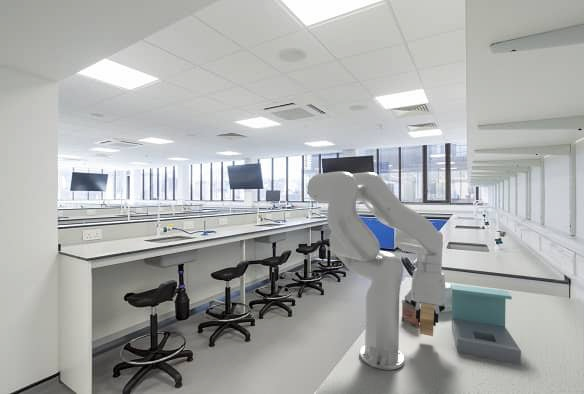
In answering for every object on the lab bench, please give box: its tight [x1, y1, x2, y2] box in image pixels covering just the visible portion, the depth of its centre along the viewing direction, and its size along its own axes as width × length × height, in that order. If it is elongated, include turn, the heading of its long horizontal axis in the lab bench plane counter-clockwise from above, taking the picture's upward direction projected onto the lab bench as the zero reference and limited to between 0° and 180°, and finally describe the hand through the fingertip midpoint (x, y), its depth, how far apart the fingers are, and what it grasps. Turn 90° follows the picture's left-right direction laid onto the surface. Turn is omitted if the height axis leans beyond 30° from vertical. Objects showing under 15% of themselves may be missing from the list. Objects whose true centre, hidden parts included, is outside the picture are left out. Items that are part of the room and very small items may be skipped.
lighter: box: [401, 298, 420, 328], centre depth 110 cm, size 8×3×10 cm, turn 21°
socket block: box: [451, 284, 522, 365], centre depth 95 cm, size 18×17×16 cm
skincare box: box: [434, 282, 453, 313], centre depth 124 cm, size 10×6×10 cm, turn 107°
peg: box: [419, 302, 435, 337], centre depth 95 cm, size 4×4×10 cm
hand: (426, 322), depth 95 cm, fingers closed on peg, 4 cm apart
